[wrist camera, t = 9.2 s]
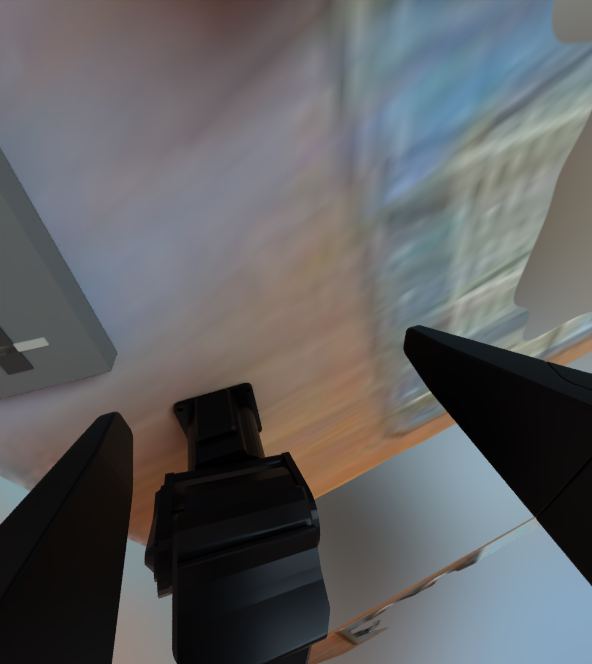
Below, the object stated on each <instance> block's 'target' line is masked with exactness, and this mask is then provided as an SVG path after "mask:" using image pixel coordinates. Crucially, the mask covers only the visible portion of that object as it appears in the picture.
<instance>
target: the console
mask: <svg viewBox="0 0 592 664" xmlns="http://www.w3.org/2000/svg"><path fill="white" fill-rule="evenodd" d="M116 355H117V351H116V350H115V348H114V346H113V344H112V343H111V341H110V339H109V337H108V336H107V334H106V332H105V330H104V329H103V327H102V325H101V323H100V322H99V320H98V318H97V316H96V315H95V313H94V311H93V309H92V308H91V306H90V304H89V302H88V301H87V299H86V297H85V295H84V294H83V292H82V290H81V288H80V287H79V285H78V283H77V281H76V280H75V278H74V276H73V274H72V273H71V271H70V269H69V267H68V266H67V264H66V262H65V260H64V259H63V257H62V255H61V253H60V252H59V250H58V248H57V246H56V245H55V243H54V241H53V239H52V238H51V236H50V234H49V232H48V231H47V229H46V227H45V225H44V224H43V222H42V220H41V218H40V217H39V215H38V213H37V211H36V210H35V208H34V206H33V204H32V203H31V201H30V199H29V197H28V196H27V194H26V192H25V190H24V189H23V187H22V185H21V183H20V182H19V180H18V178H17V176H16V175H15V173H14V171H13V170H12V168H11V166H10V164H9V163H8V161H7V159H6V157H5V156H4V154H3V152H2V150H1V149H0V399H2V398H6V397H10V396H14V395H18V394H22V393H26V392H30V391H34V390H38V389H42V388H46V387H50V386H54V385H58V384H62V383H66V382H70V381H74V380H78V379H82V378H86V377H90V376H94V375H98V374H102V373H106V372H110V371H111V370H112V367H113V364H114V361H115V358H116Z"/></svg>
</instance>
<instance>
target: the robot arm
mask: <svg viewBox="0 0 592 664" xmlns="http://www.w3.org/2000/svg"><path fill="white" fill-rule="evenodd" d="M403 348H404V353H405V355H406V356H407V358H408V359H409V361H410V362H411V364H412V365H413V367H414V368H415V370H416V371H417V373H418V374H419V376H420V377H421V379H422V380H423V382H424V383H425V384H426V386H427V387H428V389H429V390H430V391H431V393H432V394H433V395H434V396H435V397H436V399H437V400H438V401H439V402H440V404H441V405H442V406H443V407H444V408H445V410H446V411H447V412H448V413H449V414H450V416H451V417H452V418H453V419H454V420H455V422H456V423H457V424H458V425H459V426H460V428H461V429H462V430H463V431H464V432H465V433H466V435H467V436H468V437H469V438H470V439H471V441H472V442H473V443H474V444H475V446H476V447H477V448H478V449H479V450H480V452H481V453H482V454H483V455H484V457H485V458H486V459H487V460H488V461H489V463H490V464H491V465H492V466H493V467H494V468H495V470H496V471H497V472H498V473H499V474H500V476H501V477H502V478H503V479H504V480H505V482H506V483H507V484H508V485H509V487H510V488H511V489H512V490H513V491H514V493H515V494H516V495H517V496H518V497H519V499H520V500H521V501H522V502H523V504H524V505H525V506H526V507H527V508H528V510H529V511H530V512H531V513H532V514H533V516H534V517H536V519H537V521H538V522H539V523H540V524H541V525H542V527H543V528H544V529H545V530H546V531H547V533H548V534H549V535H550V536H551V537H552V539H553V540H554V541H555V542H556V544H557V545H558V546H559V547H560V548H561V549H562V551H563V552H564V553H565V554H566V556H567V557H568V558H569V559H570V560H571V562H572V563H573V564H574V565H575V567H576V568H577V569H578V570H579V571H580V573H581V574H582V575H583V576H584V577H585V578H586V580H587V581H588V582H589V583H590V585H591V586H592V374H591V373H587V372H583V371H580V370H576V369H572V368H569V367H565V366H562V365H558V364H555V363H551V362H545V361H544V360H540V359H537V358H533V357H530V356H526V355H523V354H519V353H516V352H512V351H509V350H505V349H502V348H498V347H495V346H491V345H488V344H484V343H481V342H477V341H474V340H470V339H467V338H463V337H460V336H456V335H452V334H449V333H445V332H442V331H438V330H435V329H431V328H428V327H424V326H421V325H417V326H413V327H410V328H408V329H407V330H406V334H405V340H404V347H403ZM246 388H248V389H246ZM180 407H181V408H180ZM173 410H174V413H175V415H176V417H177V419H178V421H179V423H180V425H181V427H182V429H183V431H184V433H185V435H186V437H187V439H188V471H187V472H181V473H176V474H174V473H168V474H165V482H164V485H163V486H161V489H160V490H159V491H157V492H156V494H155V505H154V515H153V521H152V525H151V530H150V534H149V538H148V542H147V547H146V551H145V565H146V566H147V567H148V568H149V569H150V570H151V571H152V572H153V573H154V580H155V582H157V590H158V591H157V592H158V598H162V597H165V596H168V595H170V594H172V596H173V597H172V651H173V656H174V659H175V661H176V663H177V664H308V660H309V655H310V651H311V647H312V645H313V644H315V643H318V642H320V641H322V640H324V639H326V637H327V634H328V624H329V615H330V606H329V601H328V597H327V593H326V589H325V584H324V580H323V576H322V571H321V566H320V560H319V554H318V547H317V546H318V544H319V541H320V524H319V517H318V512H317V507H316V504H315V500H314V498H313V495H312V493H311V491H310V489H309V487H308V485H307V483H306V481H305V480H304V478H303V476H302V474H301V473H300V471H299V469H298V467H297V466H296V464H295V462H294V460H293V458H292V457H291V455H290V453H289V452H285V453H282V454H281V455H275V456H269V457H265V455H264V451H263V447H262V443H261V439H260V435H259V433H260V432H261V431H262V426H261V422H260V418H259V414H258V409H257V405H256V401H255V397H254V393H253V389H252V385H251V384H250V383H243V384H240V385H236V386H233V387H229V388H226V389H222V390H219V391H215V392H212V393H208V394H205V395H201V396H198V397H194V398H191V399H187V400H184V401H180V402H177V403H176V404H174V409H173ZM132 493H133V434H132V431H131V429H130V428H129V426H128V425H127V423H126V422H125V420H124V419H123V417H122V416H121V414H120V413H118V412H111V413H108V414H104V415H101V416H99V417H98V418H97V419H96V420H95V421H94V422H93V424H92V425H91V426H90V427H89V428H88V429H87V430H86V431H85V432H84V433H83V434H82V436H81V437H80V438H79V439H78V440H77V441H76V442H75V443H74V444H73V445H72V447H71V448H70V449H69V450H68V451H67V452H66V453H65V454H64V455H63V456H62V458H61V459H60V460H59V461H58V462H57V463H56V464H55V465H54V466H53V467H52V468H51V470H50V471H49V472H48V473H47V474H46V475H45V476H44V477H43V478H42V479H41V481H40V482H39V483H38V484H37V485H36V486H35V487H34V488H33V489H32V490H31V492H30V493H29V494H28V495H27V496H26V497H25V498H24V499H23V500H22V501H21V502H20V504H19V505H18V506H17V507H16V508H15V509H14V510H13V511H12V513H10V515H9V516H8V517H7V518H6V519H5V520H4V521H3V522H2V523H1V524H0V664H112V657H113V649H114V641H115V633H116V625H117V617H118V609H119V601H120V593H121V584H122V575H123V568H124V560H125V552H126V543H127V536H128V528H129V519H130V511H131V503H132Z"/></svg>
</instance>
